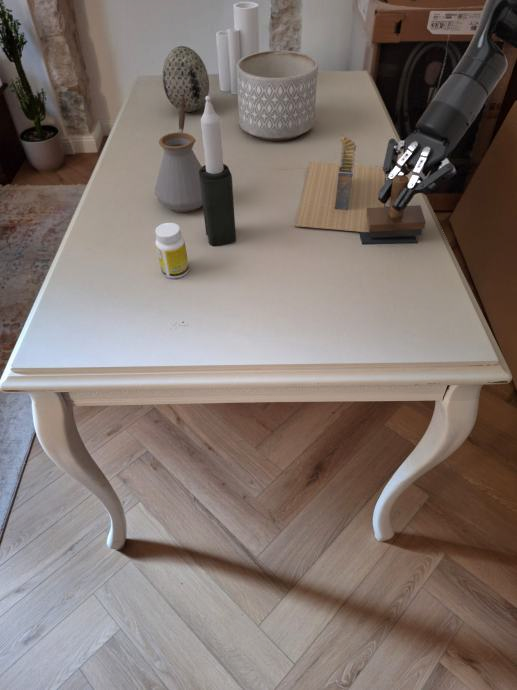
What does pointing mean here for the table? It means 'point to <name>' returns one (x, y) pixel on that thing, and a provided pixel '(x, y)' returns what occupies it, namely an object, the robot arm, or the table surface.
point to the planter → (276, 93)
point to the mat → (386, 239)
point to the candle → (216, 183)
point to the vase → (237, 44)
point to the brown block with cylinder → (395, 216)
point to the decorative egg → (185, 78)
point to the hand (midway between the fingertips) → (388, 205)
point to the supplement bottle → (171, 250)
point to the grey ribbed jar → (179, 170)
